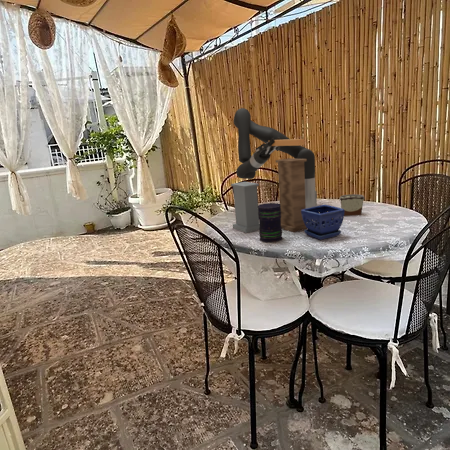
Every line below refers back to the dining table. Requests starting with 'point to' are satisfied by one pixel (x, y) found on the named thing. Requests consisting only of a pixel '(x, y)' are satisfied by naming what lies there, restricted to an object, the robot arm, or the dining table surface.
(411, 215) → the dining table surface
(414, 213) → the dining table surface
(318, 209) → the flower pot
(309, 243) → the dining table surface
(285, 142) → the orange rectangular block
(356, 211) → the food container
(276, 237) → the storage jar
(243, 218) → the grey tall block
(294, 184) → the tall stand
